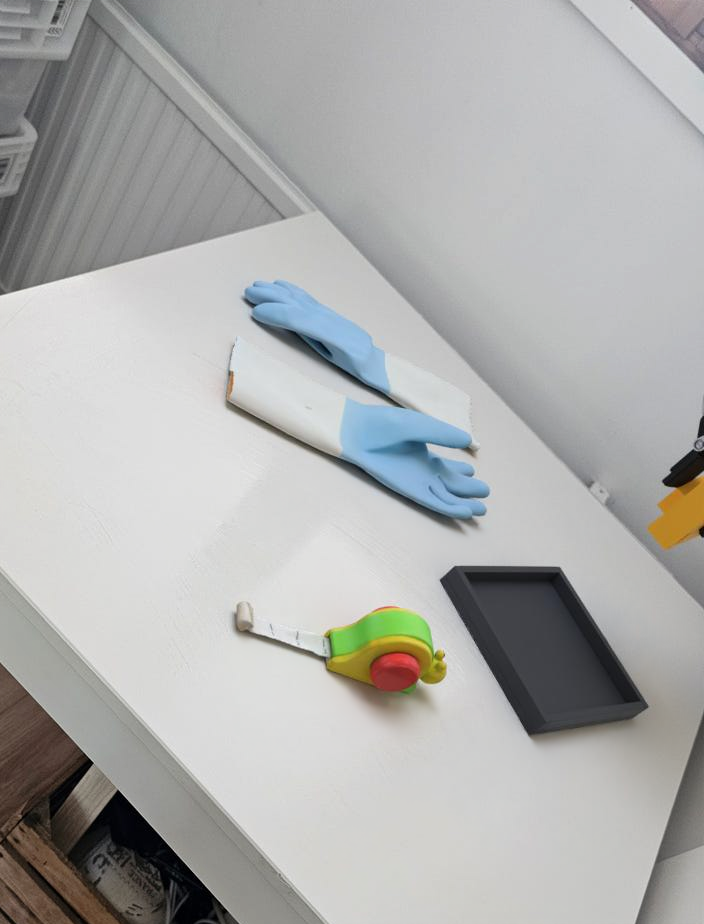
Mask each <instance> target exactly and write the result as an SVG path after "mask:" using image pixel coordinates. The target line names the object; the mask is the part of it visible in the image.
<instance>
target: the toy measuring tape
mask: <svg viewBox="0 0 704 924" xmlns="http://www.w3.org/2000/svg"><path fill="white" fill-rule="evenodd" d="M236 627H237V629H238V630H239V632H243V631H246V630H247V631H249V632H250V633H252V634H255V635H258V636H259V635H260V636H261V637H263V636H264V637H266V638H269V639H271V640H276V641H279V642H281V643H284V644H287V645H290V646H293V647H295V648H298V649H302V650H305V651H309V652H311V653H313V654H315V655H317V656H318V657H325V663H326V669H327V670H329V671H330V672H334V673H337V674H340V675H342V676H345V677H348V678H350V679H353V680H356V681H359V682H362V683H365V684H368V685H372V686H374V687H376V688H377V689H379V690H381V691H384V692H389V693H390V692H392V693H394V692H395V693H396V692H402V693H405V694H410V693H412V692H414V691H415V690H416V687H417V684H418V681H419V680H420V681H421V682H422V683H425V684H427V685H437V684H439V683H441V682H442V681H443V680H444V679H445V677H446V676H447V672H448V669H447V663H446V662H445V661H444V660H443V659H444V658H445V656H446V654H445V651H444V650H441V649H437V650H436V651H435V648H434V644H433V638H432V632H431V628H430V626H429V623H428V622H427V621H426V620H425V619H424V618H423V617H422V616H421V615H420V614H419V613H417V612H415V611H412V610H409V609H407V608H402V607H399V606H396V605H395V606H394V605H393V606H392V605H387V606H381V607H378V608H375V609H374V610H373V611H371V612H369V613H368V614H366V615H365V616H362V617H361V618H360V619H358V620H357V621H355V622H353V623H351V624H348V625H345V626H340V627H333V628H330V629H328V630H327V631H326V632H325V633H324V635H321V634H320V633H318V632H312V631H309V630H303V629H297V628H294V627H291V626H286V625H283V624H279V623H276V622H273V621H271V620H269V619H266V618H263V617H259V616H255V615H254V608H253V606H252V604H251V603H250V602H247V601H240V602H238V603H237V604H236Z"/></svg>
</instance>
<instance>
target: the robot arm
mask: <svg viewBox="0 0 704 924" xmlns="http://www.w3.org/2000/svg"><path fill="white" fill-rule="evenodd" d="M701 405H702V407H701V414H702V415H701V417H700V419H699V422H698V423H699V424H698V430H697V435H696V439H695V440H694V441H693V443H692V449H691V450H690V451H688V452H687V453H686V454H685V455H684V456H683V457H682V458H681V459H679V460H678V461H676V462H675V464H674V465H672V466H671V467H670V468H669V472H670V473H668V475H666V476H665V477H664V478H663V479H661V483H662V484H663V486H664V487H667V488H672V489H673V488H674V489H676V488H678V487H681V486H683V485H685V484H687V483H689V482H690V481H692V480H694V479H695V478H698V476H700V475H701V474H702V473H704V395H703V396H702V404H701ZM699 534H700V535H699V537H701V538H702V539H704V526H703V527H701V528H700V529H699Z"/></svg>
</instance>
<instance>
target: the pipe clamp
mask: <svg viewBox="0 0 704 924" xmlns="http://www.w3.org/2000/svg"><path fill="white" fill-rule="evenodd" d="M656 506H657V507H658V509H659V510H660V511H661V512H662V514H661V515H660V516H659V517H658V518H656V519H655V520H653V522H651V523H650V524H649V525H648V526H647V527H646V528H645V529H646V530H647V531H648V532H649V534H650V535H651V536H652V537H653V538H654V539H655V541H656V542H657V543H658V544H659V545H660V546H661V548H662V549H663V550H664V551H667V550H670V549H671V548H674V547H676V546H679V545H681V544H684V543H685V542H688V541H690V540H693V539H695V538H697V537H700V534H699V529H700V528H701V527H703V526H704V475H702V476H699V477H698V476H697V477H696V478H695V479H694V480H692V481H690V482H689V483H687V484H685V485H683V486H681V487H678V488H674V489H673V491H671V492H670V493H669V494H667V496H666V497H664V498H663V499H662V500H661V501H660V502H658V503H657V504H656Z"/></svg>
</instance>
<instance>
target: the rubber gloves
mask: <svg viewBox="0 0 704 924" xmlns="http://www.w3.org/2000/svg"><path fill="white" fill-rule="evenodd" d="M243 293H244V297H245V299H246V300H248V301H249V302H250V303H251V304H254V305H256V306H254V307H253V308H252V310H251V315H252V317H253V318H254V319H255V320H256V321H258V322H260V323H262V324H265V325H270V326H275V327H278V328H282V329H285V330H289V331H293V332H295V333H296V334H297V335H298V336H299V337H300V338H301V339H302V340H303V341H304V342H306V344H308V345H309V346H310V347H311V348H312V349H314V351H316V352H317V353H318V354H319V355H321V357H323V358H324V359H325V360H327V361H328V362H330V363H332V364H334V365H336V366H337V367H339V368H341V369H342V370H344V371H345V372H347V373H348V374H350V375H352V376H354V377H355V378H357V380H359V381H361V382H362V383H364V384H365V385H367V386H369V387H372V388H373V389H376V390H377V391H379V392H381V393H383V394H384V395H386V396H387V397H388V398H390V399H392V400H393V401H394V402H395V403H397V404H398V405H400V406H401V407H399V406H392V405H381V404H380V405H379V404H366V403H365V404H364V403H361V402H358V401H356V400H354V399H352V398H350V397H348V396H345V395H344V394H342V393H340V392H338V391H335V390H333V389H332V388H329V387H327V386H326V385H324V384H321V383H320V382H318V381H317V380H314V379H312V378H311V377H309V376H307V375H306V374H304V373H302V372H301V371H299V370H297V369H296V368H294V367H292V366H291V365H289V364H287V363H285V362H284V361H281V359H278V358H276V357H275V356H273V355H272V354H270V353H268V352H266V351H264V350H263V349H262V348H260V347H258V346H257V345H256V344H255V345H254V344H253V343H252V342H250V341H248V340H246V339H245V338H243V337H241V336H240V335H237V336H236V338H235V341H234V343H233V344H232V348H231V352H230V355H231V356H230V360H229V366H228V367H229V369H228V371H229V373H230V375H229V376H228V377H229V381H228V382H227V385H228V386H227V391H226V394H227V395H226V401H228V402H229V403H231V404H233V405H235V406H236V407H237V408H240V409H242V410H243V411H245V412H247V413H249V414H251V415H252V416H254V417H256V418H258V419H260V420H262V421H264V422H266V423H267V424H269V425H271V426H273V427H275V428H276V429H278V430H280V431H282V432H283V433H285V434H287V435H289V436H291V437H293V438H294V439H297V440H299V441H301V442H303V443H305V444H306V445H309V446H311V447H313V448H315V449H317V450H319V451H321V452H323V453H325V454H328V455H331V456H334V457H336V458H339V459H341V460H343V461H346V462H349V463H351V464H354V465H355V466H357V467H359V468H361V469H362V470H364V471H365V472H366V473H367V474H368V475H370V476H371V477H372V478H373V479H375V480H377V481H378V482H379V483H380V484H382V485H384V486H386V487H387V488H389V489H390V490H392V491H393V492H396V493H398V494H400V495H402V496H403V497H405V498H408V499H410V500H412V501H413V502H415V503H416V504H419V505H420V506H423V507H425V508H427V509H429V510H431V511H434V512H436V513H440V514H442V515H444V516H448V517H450V518H452V519H453V518H454V519H461V520H470V519H471V518H472V517H485V515H486V514H487V513H488V509H487V506H486V505H485V504H484V502H482V501H480V500H477V499H486V498H488V497H489V496H490V494H491V488H490V486H489V485H488V484H487V483H486V482H485V481H483V480H481V479H478V478H474V477H473V476H474V475H475V472H476V471H475V468H474V466H473V465H472V464H470V463H467V462H465V461H459V460H453V459H450V458H445V457H443V456H441V455H439V454H436V453H435V452H432V451H431V450H429V449H428V445H427V444H430V445H434V446H438V447H444V448H448V449H452V450H453V449H454V450H455V449H458V450H459V449H461V450H462V449H466V448H469V449H471V450H472V451H474V452H476V453H477V452H478V451H479V450H480V449H481V443H479V442H477V440H476V437H475V434H474V429H473V427H474V426H473V422H472V421H471V420H472V416H471V415H472V412H471V411H472V397H471V395H470V393H468V392H466V391H464V390H463V389H461V388H459V387H457V386H455V385H453V384H452V383H449V382H448V381H446V380H444V379H442V378H441V377H439V376H437V375H435V374H434V373H431V372H430V371H427V370H425V369H424V368H421V367H419V366H417V365H415V364H413V363H411V362H409V361H407V360H405V359H403V358H401V357H399V356H397V355H394V354H392V353H390V352H388V351H385V350H383V349H381V348H379V347H377V346H375V345H374V344H373V337H372V336H371V335H370V334H369V333H368V332H367V331H366V330H365V329H364V328H363V327H361V326H359V325H357V323H355V322H353V321H352V320H350V319H348V318H347V317H344V316H343V315H341V314H339V312H336V311H335V310H333V309H331V308H330V307H328V306H326V305H325V304H323V303H320V301H318V300H316V299H315V297H313V296H312V295H311V294H310V293H308V292H307V291H306V290H304V289H303V288H301V287H299V286H298V285H296V284H293V283H291V282H288V281H286V280H283V279H275V281H273V283H272V282H268V281H262V280H254V282H252V286H247V287H246V288H245V289H244V292H243Z"/></svg>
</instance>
